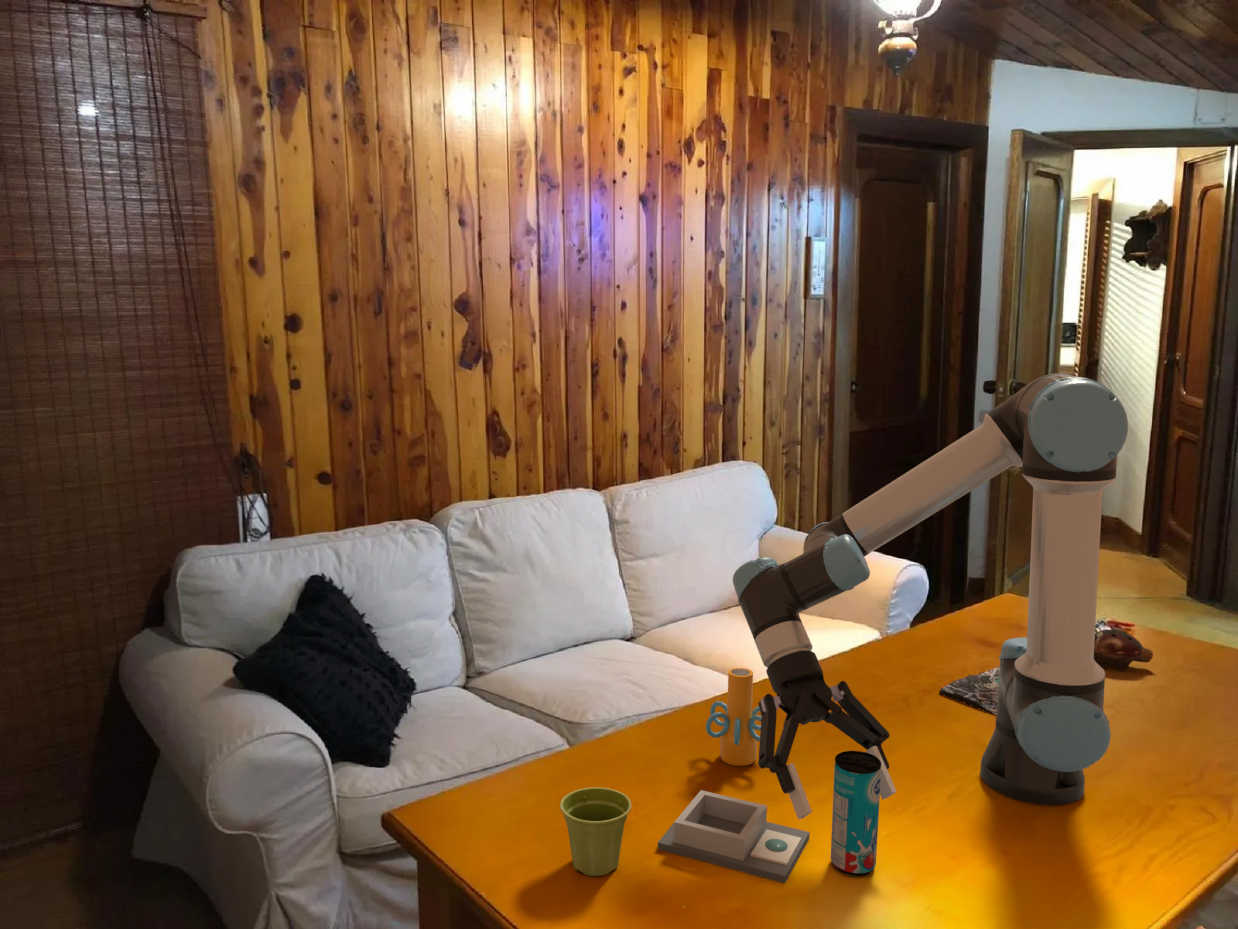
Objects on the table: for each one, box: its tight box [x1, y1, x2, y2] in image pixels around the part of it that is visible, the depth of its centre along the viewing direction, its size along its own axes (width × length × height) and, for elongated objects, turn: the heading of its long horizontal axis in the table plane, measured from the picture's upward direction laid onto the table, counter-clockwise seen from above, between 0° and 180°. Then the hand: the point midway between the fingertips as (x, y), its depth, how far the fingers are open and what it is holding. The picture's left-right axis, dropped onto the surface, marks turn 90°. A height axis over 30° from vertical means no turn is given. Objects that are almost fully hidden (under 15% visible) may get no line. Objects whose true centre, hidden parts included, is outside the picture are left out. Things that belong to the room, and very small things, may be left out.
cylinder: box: [705, 667, 762, 767], centre depth 160 cm, size 12×10×15 cm
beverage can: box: [829, 750, 881, 877], centre depth 129 cm, size 6×6×15 cm
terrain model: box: [938, 666, 1000, 716], centre depth 188 cm, size 20×15×3 cm
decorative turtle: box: [1094, 629, 1154, 672], centre depth 204 cm, size 10×15×8 cm, turn 82°
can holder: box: [657, 789, 810, 884], centre depth 135 cm, size 18×12×4 cm, turn 64°
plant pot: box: [559, 786, 632, 877], centre depth 129 cm, size 9×9×9 cm
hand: (848, 806), depth 129 cm, fingers open, 13 cm apart
